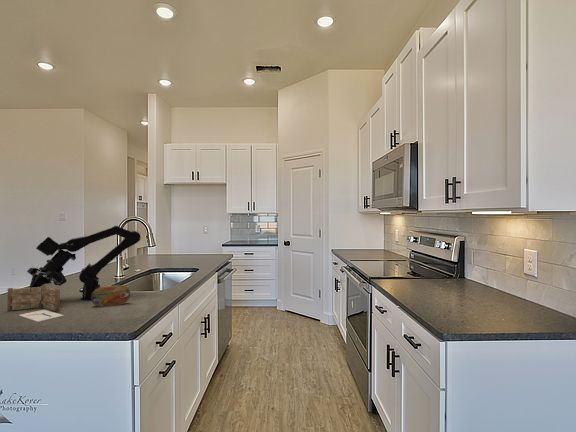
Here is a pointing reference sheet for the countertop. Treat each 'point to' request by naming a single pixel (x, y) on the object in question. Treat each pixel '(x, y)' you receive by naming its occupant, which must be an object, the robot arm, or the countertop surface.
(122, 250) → the robot arm
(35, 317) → the card
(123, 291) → the tin
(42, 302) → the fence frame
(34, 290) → the fence panel
